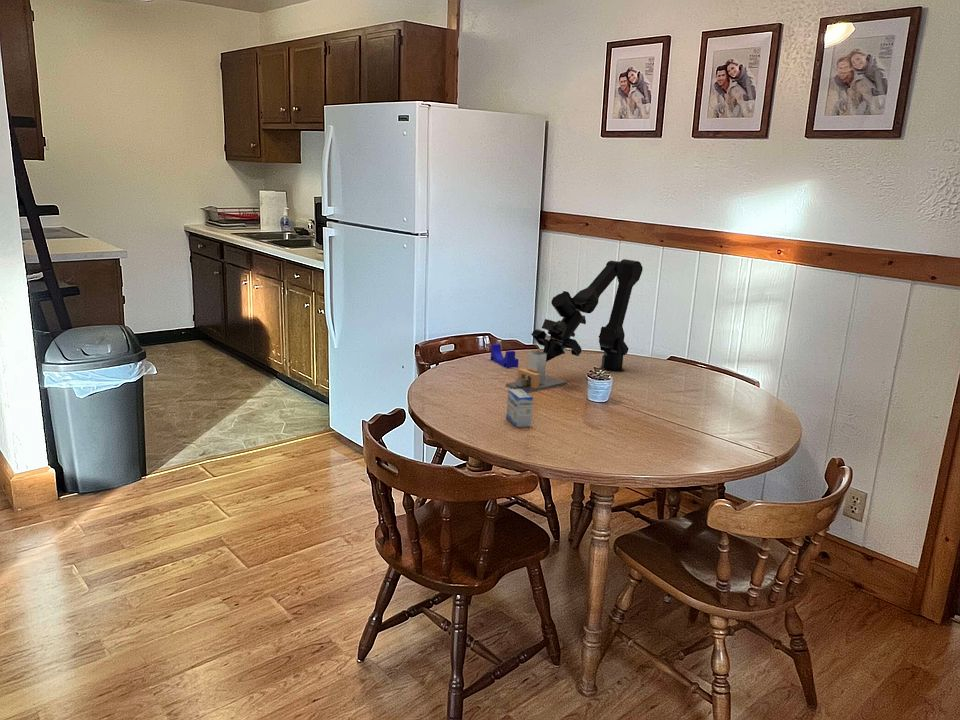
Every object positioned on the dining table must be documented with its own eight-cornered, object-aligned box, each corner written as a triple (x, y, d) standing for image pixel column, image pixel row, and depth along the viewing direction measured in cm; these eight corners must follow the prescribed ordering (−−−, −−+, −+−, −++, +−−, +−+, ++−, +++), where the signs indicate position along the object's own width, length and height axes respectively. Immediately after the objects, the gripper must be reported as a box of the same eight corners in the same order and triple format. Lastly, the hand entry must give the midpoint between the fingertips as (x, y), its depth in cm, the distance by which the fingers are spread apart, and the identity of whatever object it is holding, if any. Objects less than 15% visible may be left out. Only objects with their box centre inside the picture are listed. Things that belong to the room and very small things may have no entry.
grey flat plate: (547, 377, 254) (547, 375, 254) (566, 384, 248) (567, 381, 248) (505, 386, 242) (505, 383, 242) (525, 393, 236) (525, 391, 236)
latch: (535, 380, 247) (537, 350, 245) (544, 383, 244) (546, 353, 242) (513, 384, 241) (515, 354, 238) (522, 387, 238) (524, 357, 235)
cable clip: (517, 367, 266) (519, 351, 264) (507, 368, 264) (508, 352, 262) (501, 359, 276) (502, 343, 274) (490, 360, 274) (491, 344, 272)
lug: (521, 381, 246) (522, 368, 245) (538, 387, 240) (539, 374, 239) (517, 382, 245) (518, 369, 244) (534, 388, 239) (535, 375, 238)
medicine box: (505, 418, 212) (507, 389, 210) (520, 417, 214) (522, 388, 211) (516, 427, 205) (518, 397, 203) (531, 426, 207) (533, 396, 204)
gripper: (537, 305, 250) (511, 341, 246) (578, 315, 237) (551, 353, 232) (552, 326, 257) (526, 361, 253) (592, 337, 244) (567, 374, 239)
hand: (542, 362), depth 244 cm, fingers closed
